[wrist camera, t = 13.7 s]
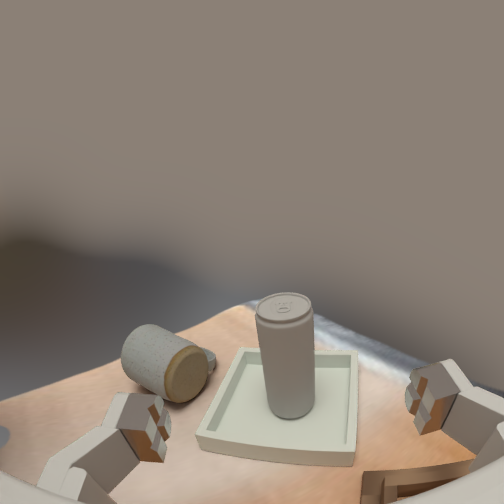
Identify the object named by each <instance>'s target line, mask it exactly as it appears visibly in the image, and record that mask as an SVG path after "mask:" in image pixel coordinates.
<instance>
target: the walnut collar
mask: <svg viewBox="0 0 504 504" xmlns="http://www.w3.org/2000/svg"><path fill="white" fill-rule="evenodd" d="M473 460H474V459H471V460H466V461H461V462H455V463H450V464H443V465H436V466H429V467H421V468H411V469H400V470H385V471H364V473H363V478H362V491H361V501H360V504H389V503H393V502H396V501H397V497H406V496H415V495H418V494H421V493H423V492H426V491H429V490H432V489H434V488H437V487H439V486H442V485H444V484H447V483H449V482H451V481H454V480H456V479H458V478H461V477H463V476H465V475H467V474H469V473H470V471H469V469H468V468H469V466H470V464H471V463H472V461H473Z"/></svg>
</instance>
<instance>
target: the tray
mask: <svg viewBox="0 0 504 504" xmlns="http://www.w3.org/2000/svg"><path fill="white" fill-rule="evenodd" d="M314 352H315V402H314V405H313V406H312V408H311V409H310V410H309V411H308V412H307V413H306V414H304V415H303V416H301V417H298V418H293V419H286V418H282V417H279V416H278V415H276V414H274V413H273V412H272V411H271V409H270V407H269V405H268V400H267V393H266V387H265V380H264V373H263V366H262V360H261V353H260V348H247V347H240V348H239V350H238V352H237V354H236V356H235V358H234V360H233V362H232V364H231V366H230V368H229V370H228V372H227V374H226V376H225V378H224V380H223V382H222V384H221V386H220V387H219V389H218V391H217V393H216V395H215V397H214V399H213V401H212V403H211V405H210V407H209V409H208V410H207V412H206V414H205V416H204V418H203V420H202V422H201V424H200V425H199V427H198V429H197V431H196V433H195V436H196V439H197V441H198V443H199V445H200V448H201V450H205V451H210V452H215V453H220V454H225V455H230V456H236V457H242V458H248V459H255V460H262V461H270V462H279V463H289V464H300V465H316V466H352V465H353V460H354V455H355V448H356V432H357V409H358V350H314Z"/></svg>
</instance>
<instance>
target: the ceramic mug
mask: <svg viewBox="0 0 504 504" xmlns="http://www.w3.org/2000/svg"><path fill="white" fill-rule="evenodd" d="M121 363H122V367H123V370H124V372H125V373H126V375H127V376H128V377H129V378H130V379H132V380H133V381H135V382H136V383H138V384H140V385H142V386H143V387H145V388H146V389H148V390H150V391H152V392H154V393H155V394H157V395H160V396H161V397H162V398H164V399H166V400H169V401H172V402H177V403H183V402H186V401H189V400H190V399H192V398H194V397H195V396H196V395H197V394H198V393H199V392H200V391H201V389H202V388H203V386H204V384H205V382H206V379H207V376H208V371H211V370H212V369H214V367H215V364H216V355H215V354H214V353H213V352H211V351H210V350H207V349H205V348H201V347H198V346H197V345H196V344H194V343H193V342H190V341H188V340H186V339H184V338H181V337H179V336H177V335H175V334H173V333H171V332H169V331H167V330H165V329H163V328H161V327H159V326H156V325H151V324H148V325H143V326H140V327H138V328H137V329H135V330H134V331H133V332H132V333H131V334H130V335H129V336H128V337H127V339H126V341H125V343H124V345H123V348H122V352H121Z"/></svg>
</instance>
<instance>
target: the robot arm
mask: <svg viewBox="0 0 504 504" xmlns="http://www.w3.org/2000/svg"><path fill="white" fill-rule="evenodd" d="M409 378H410V380H411V383H410V384H409V385H408V386H407V388H406V392H405V403H406V407H407V409H408V411H409V413H411V414H413V415H414V416H415V418H414V421H413V422H414V424H415V426H416V428H417V430H418V432H419V435H424V434H427V433H431V432H434V431H437V430H440V429H441V431H443V432H444V433H446V434H447V435H448V436H450V437H451V438H453V439H454V440H455V441H457V442H458V443H460V444H461V445H463V446H464V447H465V448H467V449H468V450H470V451H471V452H473V453H474V454H476V455H477V456H476V457H475V459H474V460H473V461H472V463H471V464H470V466H469V468H468V469H469V471H470V473H469V474H467V475H465V476H463V477H461V478H458V479H456V480H454V481H451V482H449V483H447V484H444V485H442V486H439V487H437V488H434V489H432V490H429V491H426V492H423V493H421V494H418V495H415V496H412V497H409V498H406V499H403V500H399V501H396V502H393V503H389V504H504V398H502V397H499V396H497V395H495V394H493V393H490V392H488V391H486V390H484V389H481V388H479V387H473V386H472V385H471V383H470V382H469V380H468V379H467V378H466V376H465V375H464V374H463V372H462V371H461V370H460V368H459V367H458V366H457V364H456V363H455V362H454V361H453V360H452V359H448V360H445V361H441V362H438V363H434V364H430V365H427V366H423V367H419V368H415V369H413V370H412V371H411V374H410V377H409ZM163 405H164V401H163V399H162V397H161V396H160V395H150V394H137V393H123V392H118V393H116V394H115V396H114V398H113V400H112V402H111V404H110V407H109V409H108V411H107V413H106V415H105V418H104V420H103V422H102V424H101V426H96V427H95V428H93V429H92V430H90V431H89V432H87V433H86V434H85V435H83V436H82V437H80V438H79V439H77V440H76V441H74V442H73V443H71V444H70V445H68V446H67V447H65V448H64V449H62V450H61V451H59V452H58V453H56V454H55V455H53V456H52V457H50V458H49V459H48V461H47V464H46V466H45V468H44V470H43V472H42V474H41V476H40V478H39V480H38V483H37V485H36V486H35V485H32V484H30V483H28V482H25V481H23V480H21V479H18V478H16V477H14V476H12V475H10V474H8V473H6V472H4V471H2V470H0V504H117V503H116V502H115V501H114V500H113V499H112V498H111V497H110V496H109V495H108V494H109V493H110V492H111V491H112V490H113V489H114V488H115V487H116V486H117V485H118V484H119V483H120V482H121V481H122V480H123V479H124V478H125V477H126V476H127V475H128V474H129V473H130V472H131V471H132V470H133V469H134V468H135V467H136V466H137V465H138V464H139V463H140V461H146V462H158V463H164V459H165V455H166V450H167V446H166V444H165V441H166V440H167V439H168V438H169V437H170V433H171V420H170V416H169V413H168V411H166V410H165V409H164V408H163Z"/></svg>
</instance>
